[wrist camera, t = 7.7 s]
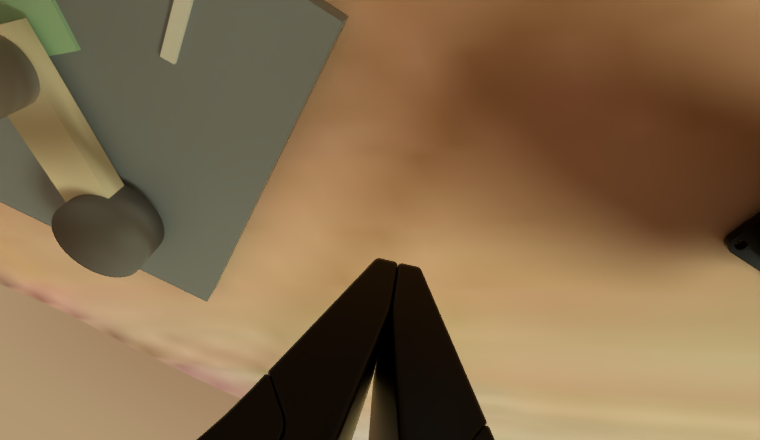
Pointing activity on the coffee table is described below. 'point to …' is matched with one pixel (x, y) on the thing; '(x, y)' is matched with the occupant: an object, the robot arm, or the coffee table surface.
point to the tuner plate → (177, 110)
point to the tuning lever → (73, 162)
